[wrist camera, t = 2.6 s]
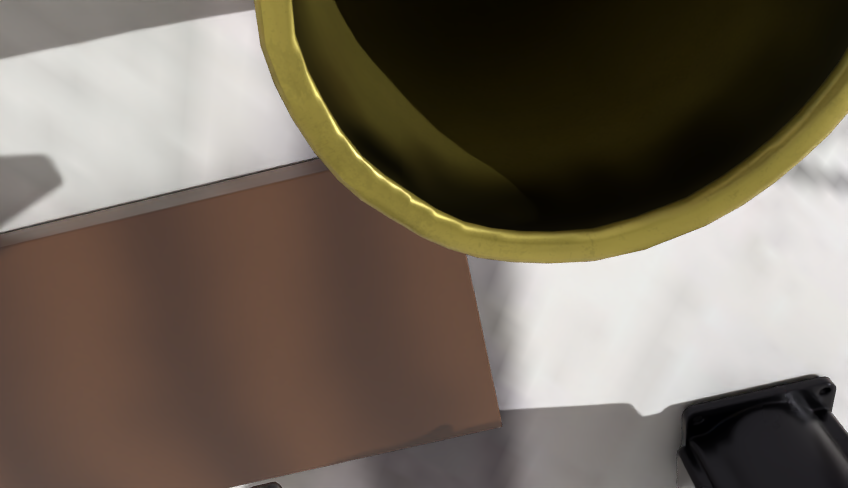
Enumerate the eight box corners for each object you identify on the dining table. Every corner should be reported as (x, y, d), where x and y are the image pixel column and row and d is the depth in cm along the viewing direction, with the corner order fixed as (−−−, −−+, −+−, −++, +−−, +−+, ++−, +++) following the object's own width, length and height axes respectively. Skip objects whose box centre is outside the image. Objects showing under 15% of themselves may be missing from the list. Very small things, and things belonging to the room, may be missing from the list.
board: (438, 129, 21) (442, 143, 20) (498, 408, 28) (502, 427, 27) (-173, 274, 22) (-193, 293, 21) (39, 511, 29) (30, 532, 28)
